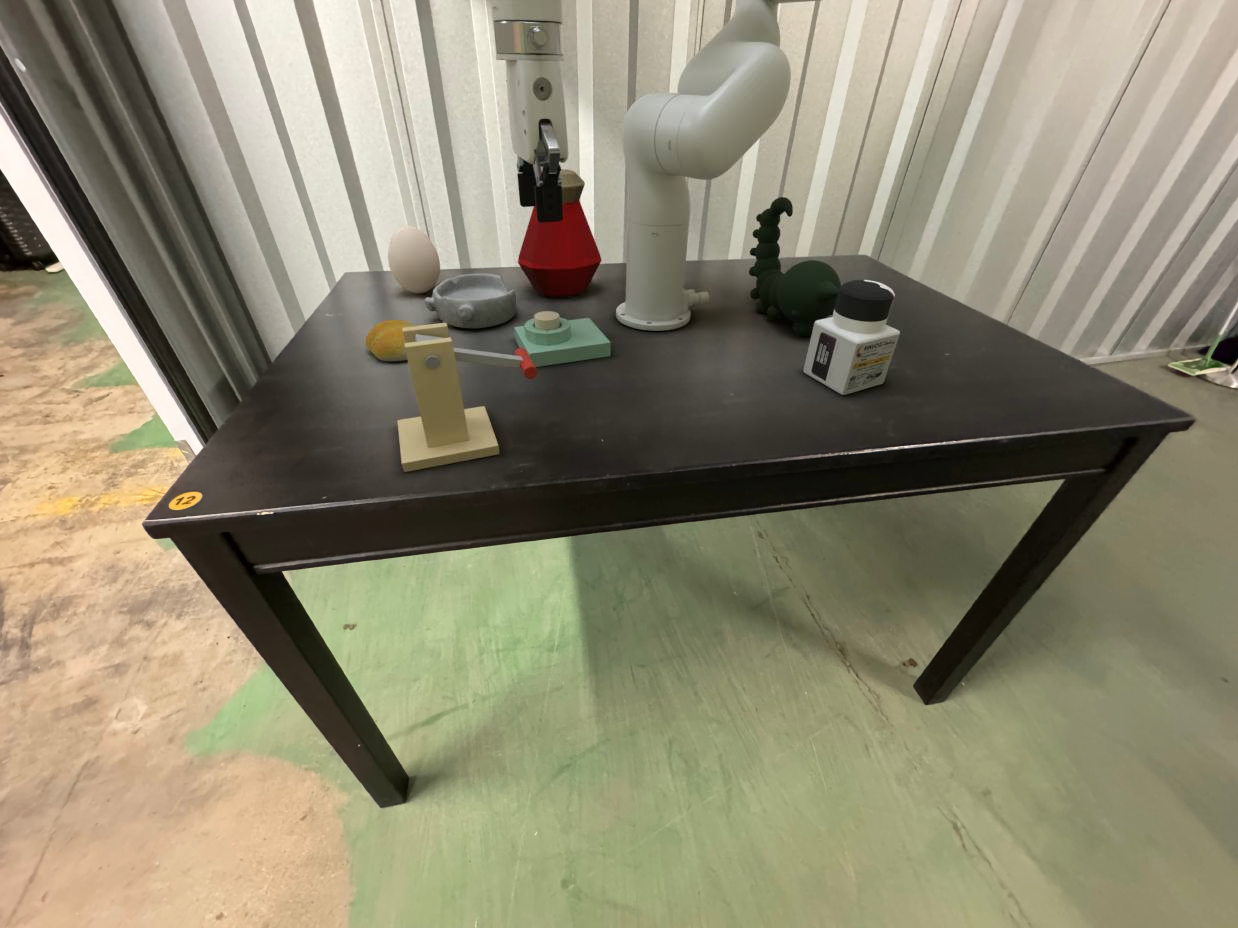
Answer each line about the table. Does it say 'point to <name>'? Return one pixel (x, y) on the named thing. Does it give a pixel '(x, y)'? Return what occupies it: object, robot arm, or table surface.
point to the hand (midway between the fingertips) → (540, 213)
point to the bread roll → (388, 340)
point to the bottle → (561, 247)
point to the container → (854, 339)
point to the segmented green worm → (790, 277)
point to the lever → (492, 357)
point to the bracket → (440, 407)
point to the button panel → (562, 342)
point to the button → (547, 320)
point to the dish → (473, 301)
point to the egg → (413, 260)
